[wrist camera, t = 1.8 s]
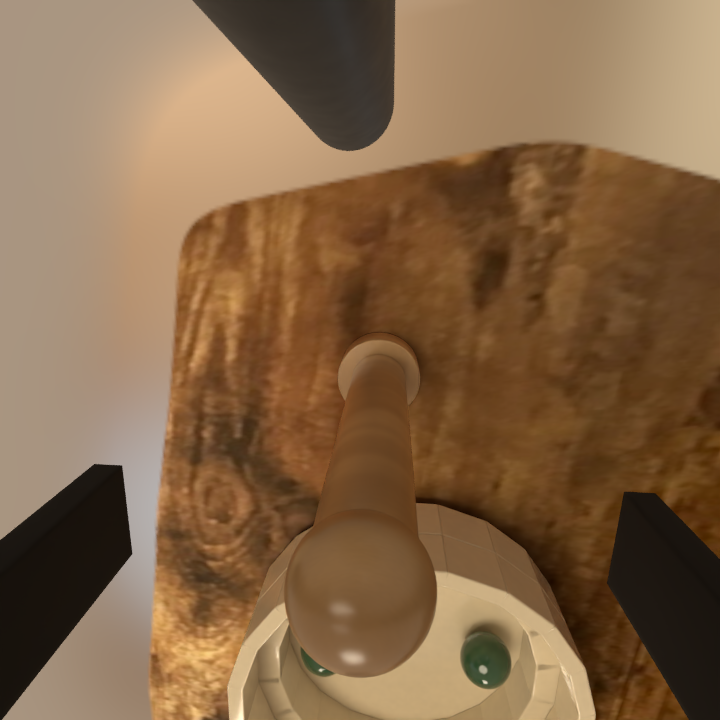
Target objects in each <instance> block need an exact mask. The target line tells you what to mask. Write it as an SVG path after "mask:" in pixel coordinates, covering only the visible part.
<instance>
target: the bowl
mask: <svg viewBox="0 0 720 720" xmlns="http://www.w3.org/2000/svg"><path fill="white" fill-rule="evenodd" d="M416 511H417V523H418V535H419V539H420V541H421V542H422V544H423V545H424V546H425V548H426V550H427V552H428V554H429V556H430V559H431V561H432V564H433V567H434V570H435V575H436V581H437V605H436V611H435V617H434V620H433V623H432V626H431V628H430V631H429V633H428V635H427V637H426V639H425V640H424V642H423V643H422V645H421V646H420V648H419V649H418V650H417V651H416V652H415V653H414V654H413V655H412V657H411V658H410V659H409V660H407V661H406V662H405V663H404V664H402V665H401V666H399V667H397V668H396V669H394V670H392V671H390V672H388V673H386V674H382V675H379V676H375V677H367V678H354V677H347V676H343V675H339V674H337V673H336V674H335V675H332V676H330V677H319V676H316V675H314V674H312V673H311V672H310V671H309V670H308V669H307V668H306V667H305V665H304V664H303V661H302V658H301V653H300V644H299V642H298V641H297V639H296V637H295V636H294V634H293V632H292V629H291V627H290V624H289V621H288V618H287V614H286V609H285V601H284V586H285V578H286V573H287V569H288V565H289V563H290V560H291V558H292V555H293V553H294V551H295V549H296V547H297V546H298V544H299V543H300V541H301V540H302V538H303V537H304V536H305V535H306V534H307V533H308V532H309V531H310V530H311V529H312V528H313V527H311V528H309V529H308V530H306V531H304V532H302V533H301V534H299V535H298V536H296V537H295V538H294V539H293V541H292V542H291V543H290V544H289V545H288V546H287V548H286V549H285V550H284V551H283V552H282V553H281V555H280V556H279V557H278V558H277V559H276V560H275V561H274V563H273V564H272V565H271V566H270V567H269V569H268V572H267V575H266V578H265V581H264V583H263V586H262V589H261V592H260V595H259V597H258V600H257V603H256V606H255V609H254V611H253V614H252V617H251V620H250V623H249V626H248V628H247V631H246V634H245V637H244V640H243V643H242V645H241V648H240V651H239V654H238V657H237V659H236V662H235V665H234V668H233V671H232V674H231V676H230V679H229V682H228V685H227V691H228V706H229V720H595V718H596V715H595V714H596V712H595V707H594V703H593V699H592V694H591V690H590V685H589V681H588V676H587V672H586V668H585V666H584V664H583V661H582V659H581V657H580V654H579V652H578V650H577V647H576V645H575V643H574V640H573V638H572V636H571V633H570V631H569V629H568V626H567V624H566V622H565V619H564V617H563V615H562V612H561V610H560V608H559V605H558V603H557V601H556V598H555V596H554V594H553V591H552V589H551V587H550V585H549V583H548V582H547V580H546V579H545V577H544V576H543V574H542V573H541V572H540V570H539V569H538V567H537V566H536V564H535V563H534V561H533V560H532V559H531V557H530V556H529V554H528V553H527V551H526V550H525V549H524V548H523V547H521V546H520V545H519V544H517V543H516V542H514V541H513V540H512V539H510V538H509V537H508V536H506V535H505V534H503V533H502V532H501V531H499V530H498V529H497V528H495V527H494V526H493V525H491V524H490V523H488V522H487V521H484V520H482V519H479V518H476V517H473V516H470V515H467V514H464V513H461V512H459V511H456V510H453V509H450V508H447V507H444V506H441V505H437V504H425V503H416ZM477 631H488V632H491V633H494V634H495V635H497V636H498V637H500V638H501V639H502V640H503V641H504V643H505V644H506V646H507V648H508V650H509V652H510V655H511V661H512V667H511V672H510V675H509V677H508V679H507V681H506V682H505V683H504V684H503V685H502V686H500V687H498V688H496V689H490V690H489V689H482V688H480V687H477V686H476V685H474V684H473V683H472V682H471V681H470V680H469V679H468V678H467V677H466V675H465V674H464V672H463V669H462V667H461V663H460V650H461V647H462V644H463V642H464V640H465V639H466V638H467V637H468V636H469V635H470V634H472V633H474V632H477Z"/></svg>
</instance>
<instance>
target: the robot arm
mask: <svg viewBox="0 0 720 720" xmlns="http://www.w3.org/2000/svg"><path fill="white" fill-rule="evenodd" d="M131 555H132V547H131V539H130V530H129V521H128V514H127V504H126V495H125V488H124V478H123V470H122V466H120V465H100V464H94V465H93V466H91V467H90V468H89V469H88V470H87V471H85V472H84V473H83V474H82V475H81V476H79V477H78V478H77V479H75V480H74V481H73V482H72V483H71V484H69V485H68V486H67V487H65V488H64V489H63V490H62V491H61V492H59V493H58V494H57V495H56V496H54V497H53V498H52V499H51V500H49V501H48V502H47V503H46V504H44V505H43V506H42V507H41V508H40V509H38V510H37V511H36V512H35V513H33V514H32V515H31V516H30V517H28V518H27V519H26V520H25V521H23V522H22V523H21V524H20V525H18V526H17V527H16V528H15V529H13V530H12V531H11V532H10V533H9V534H7V535H6V536H5V537H4V538H2V539H1V540H0V720H2V719H3V717H4V716H5V715H6V714H7V712H8V711H9V710H10V709H11V707H12V706H13V705H14V704H15V702H16V701H17V700H18V699H19V697H20V696H21V695H22V693H23V692H24V691H25V690H26V688H27V687H28V686H29V685H30V683H31V682H32V681H33V679H34V678H35V677H36V676H37V674H38V673H39V672H40V671H41V669H42V668H43V667H44V665H45V664H46V663H47V662H48V660H49V659H50V658H51V657H52V655H53V654H54V653H55V651H56V650H57V649H58V648H59V646H60V645H61V644H62V642H63V641H64V640H65V639H66V637H67V636H68V635H69V634H70V632H71V631H72V630H73V629H74V627H75V626H76V625H77V623H78V622H79V621H80V620H81V618H82V617H83V616H84V614H85V613H86V612H87V611H88V610H89V608H90V607H91V606H92V604H93V603H94V602H95V601H96V599H97V598H98V597H99V595H100V594H101V593H102V592H103V590H104V589H105V588H106V586H107V585H108V584H109V583H110V582H111V580H112V579H113V578H114V576H115V575H116V574H117V572H118V571H119V570H120V569H121V567H122V566H123V565H124V564H125V562H126V561H127V560H128V559H129V557H130V556H131ZM607 584H608V585H609V587H610V589H611V590H612V592H613V594H614V595H615V597H616V599H617V600H618V602H619V604H620V605H621V607H622V609H623V610H624V612H625V614H626V615H627V617H628V619H629V620H630V622H631V624H632V625H633V627H634V629H635V630H636V632H637V634H638V635H639V637H640V639H641V640H642V642H643V644H644V645H645V647H646V649H647V650H648V652H649V654H650V655H651V657H652V659H653V660H654V662H655V664H656V665H657V667H658V669H659V670H660V672H661V674H662V675H663V677H664V679H665V680H666V682H667V684H668V685H669V687H670V689H671V690H672V692H673V694H674V695H675V697H676V699H677V700H678V702H679V704H680V705H681V707H682V709H683V710H684V712H685V714H686V715H687V717H688V719H689V720H720V559H719V558H718V557H717V556H716V555H715V554H714V553H713V552H712V551H711V550H710V549H709V548H708V547H707V546H706V545H705V544H704V543H703V542H702V541H701V540H700V539H699V538H698V537H697V536H696V534H695V533H694V532H693V531H692V530H691V529H690V528H689V527H688V526H687V525H686V524H685V523H684V522H683V521H682V520H681V519H680V518H679V517H678V516H677V515H676V514H675V513H674V512H673V511H672V510H671V509H670V508H669V507H668V506H667V505H666V504H665V503H664V502H663V501H662V500H661V499H660V498H659V497H658V496H657V495H656V494H655V493H638V492H624V496H623V501H622V506H621V512H620V517H619V522H618V528H617V533H616V539H615V544H614V549H613V555H612V560H611V565H610V571H609V576H608V581H607Z"/></svg>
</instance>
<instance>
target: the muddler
mask: <svg viewBox="0 0 720 720" xmlns="http://www.w3.org/2000/svg"><path fill="white" fill-rule="evenodd" d="M338 386H339V390H340V392H341V395H342V397H343V398H344V400H345V405H344V409H343V413H342V416H341V420H340V424H339V428H338V432H337V436H336V440H335V444H334V447H333V451H332V455H331V459H330V463H329V467H328V471H327V474H326V478H325V482H324V486H323V490H322V494H321V498H320V501H319V505H318V509H317V513H316V517H315V521H314V525H313V528H312V529H311V530H310V531H309V532H308V533H307V534H306V535H305V536H304V537H303V538H302V540H301V541H300V543H299V544H298V546H297V547H296V549H295V551H294V553H293V555H292V558H291V560H290V563H289V565H288V569H287V573H286V578H285V586H284V601H285V609H286V614H287V618H288V621H289V624H290V627H291V629H292V632H293V634H294V636H295V637H296V639H297V641H298V642H299V644H300V646H301V647H302V648H303V649H304V651H305V652H306V653H307V654H308V655H309V656H310V657H311V658H312V659H313V660H314V661H315V662H317V663H318V664H319V665H321V666H322V667H324V668H326V669H327V670H329V671H332V672H334V673H337V674H339V675H343V676H347V677H354V678H367V677H375V676H379V675H382V674H386V673H388V672H390V671H392V670H394V669H396V668H397V667H399V666H401V665H402V664H404V663H405V662H406V661H407V660H409V659H410V658H411V657H412V655H413V654H414V653H415V652H416V651H417V650H418V649H419V648H420V646H421V645H422V643H423V642H424V640H425V639H426V637H427V635H428V633H429V631H430V628H431V626H432V623H433V620H434V617H435V611H436V605H437V581H436V575H435V570H434V567H433V564H432V561H431V559H430V556H429V554H428V552H427V550H426V548H425V546H424V545H423V544H422V542H421V541H420V539H419V535H418V523H417V511H416V498H415V486H414V474H413V462H412V449H411V437H410V425H409V413H408V406H409V405H410V404H411V403H412V402H413V400H414V399H415V397H416V395H417V393H418V390H419V387H420V372H419V366H418V361H417V358H416V355H415V353H414V352H413V350H412V348H411V347H410V346H409V345H408V344H407V343H406V342H405V341H404V340H402V339H401V338H399V337H397V336H395V335H392V334H388V333H370V334H367V335H364V336H362V337H360V338H358V339H357V340H355V341H354V342H353V343H352V344H351V345H350V346H349V347H348V349H347V350H346V352H345V354H344V356H343V358H342V361H341V364H340V367H339V371H338Z"/></svg>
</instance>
